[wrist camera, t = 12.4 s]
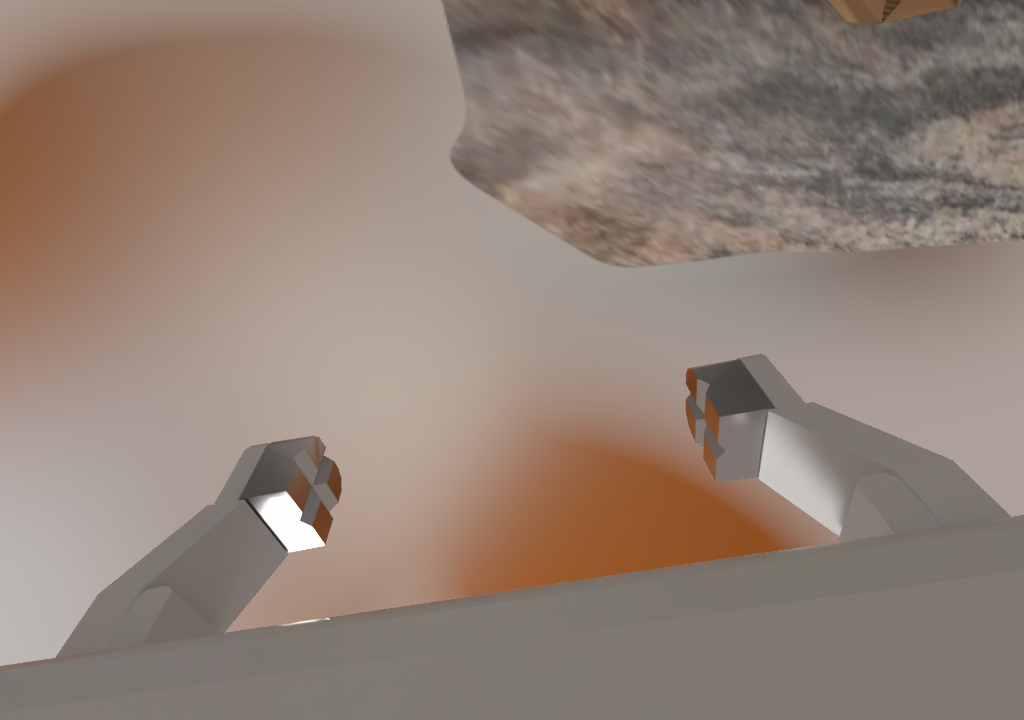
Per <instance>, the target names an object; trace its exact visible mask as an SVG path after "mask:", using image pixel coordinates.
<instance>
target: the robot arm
mask: <svg viewBox="0 0 1024 720" xmlns="http://www.w3.org/2000/svg"><path fill="white" fill-rule="evenodd" d="M686 385H687V387H688V389H689V391H690V393H691V394H690V395H689V396H688V397H687V399H686V415H687V421H688V425H689V428H690V431H691V434H692V436H693V438H694V440H695V442H696V443H698V444H699V445H701V446H703V459H704V461H705V463H706V465H707V467H708V469H709V471H710V473H711V475H712V477H713V479H714V481H715V482H723V481H731V480H739V479H746V478H754V477H759V480H761V481H762V482H764V483H765V484H766V485H768V486H769V487H771V488H772V489H773V490H775V491H776V492H778V493H779V494H781V495H782V496H783V497H785V498H786V499H788V500H789V501H790V502H792V503H793V504H795V505H796V506H798V507H799V508H800V509H802V510H803V511H804V512H806V513H807V514H809V515H810V516H811V517H813V518H814V519H816V520H817V521H818V522H820V523H821V524H823V525H824V526H825V527H827V528H828V529H830V530H831V531H832V532H834V533H835V534H837V535H838V536H839V539H838V542H837V543H830V544H823V545H816V546H809V547H802V548H796V549H789V550H782V551H775V552H768V553H762V554H755V555H748V556H741V557H735V558H729V559H721V560H714V561H708V562H702V563H694V564H688V565H680V566H674V567H667V568H661V569H654V570H647V571H640V572H633V573H626V574H620V575H613V576H606V577H600V578H593V579H586V580H580V581H573V582H566V583H559V584H553V585H546V586H539V587H532V588H526V589H519V590H512V591H505V592H498V593H492V594H485V595H478V596H471V597H465V598H457V599H451V600H444V601H437V602H430V603H424V604H417V605H410V606H403V607H396V608H390V609H383V610H376V611H369V612H362V613H356V614H349V615H342V616H336V617H329V618H322V619H315V620H308V621H302V622H295V623H288V624H281V625H275V626H269V627H261V628H255V629H248V630H241V631H234V632H227V633H225V631H226V630H227V629H228V628H229V626H230V625H231V624H232V623H233V622H234V620H235V619H236V618H237V617H238V615H239V614H240V613H241V612H242V611H243V609H244V608H245V607H246V606H247V604H248V603H249V602H250V601H251V600H252V598H253V597H254V596H255V595H256V593H257V592H258V591H259V589H260V588H261V587H262V586H263V585H264V584H265V582H266V581H267V580H268V579H269V577H270V576H271V575H272V574H273V572H274V571H275V570H276V569H277V568H278V566H279V565H280V564H281V563H282V561H283V560H284V559H285V558H286V557H287V555H288V553H287V552H292V551H298V550H303V549H308V548H313V547H319V546H324V545H325V544H326V541H327V537H328V534H329V531H330V528H331V524H332V521H333V518H332V516H331V514H330V512H329V511H330V510H331V509H332V508H333V507H334V506H335V505H336V504H337V503H338V502H339V498H340V495H341V476H340V472H339V469H338V467H337V465H336V464H335V462H334V461H333V460H331V459H329V458H327V457H325V456H324V452H325V449H326V447H325V445H324V444H323V442H322V441H321V439H320V438H319V437H316V436H309V437H302V438H296V439H290V440H284V441H277V442H272V443H267V444H260V445H254V446H250V447H249V448H247V449H246V450H245V451H244V452H243V454H242V456H241V458H240V459H239V461H238V463H237V465H236V466H235V468H234V470H233V472H232V474H231V475H230V477H229V479H228V481H227V482H226V484H225V486H224V488H223V490H222V491H221V493H220V495H219V496H218V498H217V500H216V502H215V504H214V505H209V506H206V507H205V508H204V509H203V510H201V511H200V512H199V513H198V514H196V515H195V516H194V517H193V518H192V519H190V520H189V521H188V522H187V523H185V524H184V525H183V526H182V527H181V528H179V529H178V530H177V531H176V532H174V533H173V534H172V535H171V536H169V537H168V538H167V539H166V540H164V541H163V542H162V543H161V544H160V545H158V546H157V547H156V548H155V549H153V550H152V551H151V552H150V553H149V554H147V555H146V556H145V557H144V558H143V559H141V560H140V561H139V562H137V563H136V564H135V565H134V566H133V567H132V568H130V569H129V570H128V571H126V572H125V573H124V574H123V575H122V576H120V577H119V578H118V579H117V580H115V581H114V582H113V583H112V584H110V585H109V586H108V587H107V588H106V589H104V590H103V591H102V592H101V593H99V594H98V595H97V597H96V598H95V600H94V601H93V603H92V604H91V606H90V607H89V609H88V610H87V612H86V613H85V615H84V616H83V618H82V619H81V621H80V622H79V623H78V625H77V626H76V628H75V629H74V631H73V632H72V634H71V635H70V637H69V638H68V640H67V641H66V643H65V644H64V646H63V647H62V649H61V650H60V652H59V653H58V655H57V656H56V657H55V658H51V659H44V660H38V661H31V662H24V663H17V664H12V665H4V666H0V720H1024V515H1020V516H1013V517H1011V516H1010V515H1009V514H1008V513H1007V512H1006V511H1005V510H1004V509H1003V508H1002V507H1001V506H1000V505H998V503H996V502H995V501H994V500H993V499H992V498H991V497H990V496H989V495H988V494H987V493H986V492H985V491H984V490H983V489H982V488H981V487H980V486H979V485H977V483H976V482H975V481H974V480H972V479H971V478H970V477H969V476H968V475H967V474H966V473H965V472H964V471H963V470H962V469H961V468H960V467H959V466H958V465H957V464H956V463H955V462H954V461H953V460H950V459H948V458H946V457H943V456H941V455H938V454H936V453H934V452H931V451H929V450H927V449H924V448H922V447H919V446H917V445H914V444H912V443H910V442H907V441H905V440H902V439H900V438H898V437H895V436H893V435H891V434H888V433H885V432H883V431H881V430H879V429H876V428H874V427H871V426H869V425H866V424H864V423H862V422H859V421H857V420H855V419H852V418H850V417H847V416H845V415H843V414H840V413H838V412H835V411H833V410H831V409H828V408H826V407H823V406H821V405H819V404H816V403H814V402H811V403H805V402H804V401H803V400H802V399H801V397H800V396H799V395H798V394H797V393H796V391H795V390H794V389H793V388H792V387H791V386H790V384H789V383H788V382H787V381H786V379H785V378H784V377H783V376H782V375H781V373H780V372H779V371H778V370H777V369H776V367H775V366H774V365H773V364H772V363H771V362H770V360H769V359H768V358H767V357H766V356H765V355H762V354H758V355H753V356H748V357H743V358H738V359H736V360H731V361H725V362H721V363H715V364H709V365H704V366H698V367H693V368H688V369H687V372H686Z"/></svg>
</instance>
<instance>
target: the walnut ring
mask: <svg viewBox="0 0 1024 720" xmlns="http://www.w3.org/2000/svg"><path fill="white" fill-rule="evenodd" d="M828 1H829V2H830V3H831V4H832V5H833V7H834V8H835V9H836V10H837V11H838V13H839V14H840V15H841V16H842V17H843V18H844V20H845V21H846V22H847V23H885V22H889V21H894V20H898V19H903V18H908V17H912V16H917V15H922V14H926V13H931V12H935V11H940V10H945V9H949V8H954V7H957V6H958V5H959V4H960V3H961V1H962V0H828Z"/></svg>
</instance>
